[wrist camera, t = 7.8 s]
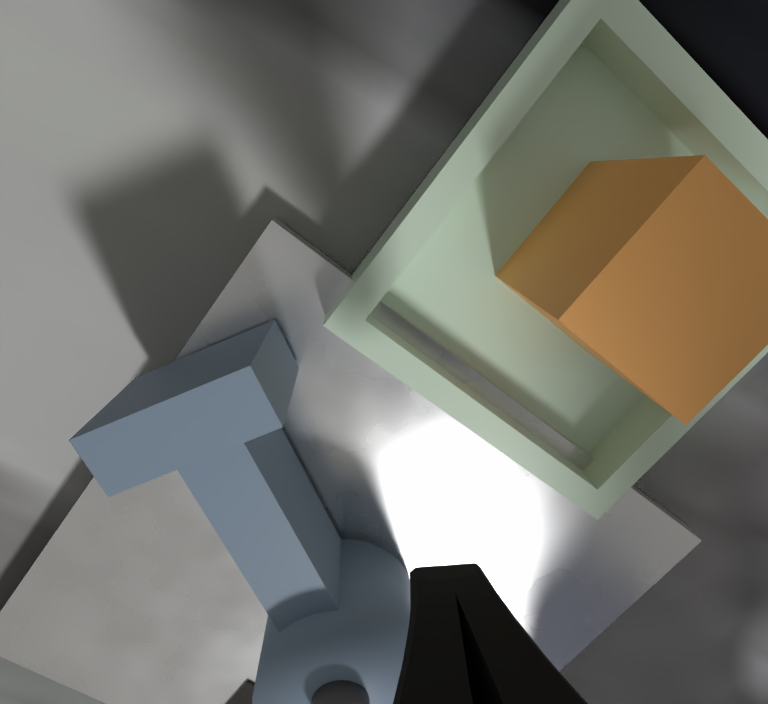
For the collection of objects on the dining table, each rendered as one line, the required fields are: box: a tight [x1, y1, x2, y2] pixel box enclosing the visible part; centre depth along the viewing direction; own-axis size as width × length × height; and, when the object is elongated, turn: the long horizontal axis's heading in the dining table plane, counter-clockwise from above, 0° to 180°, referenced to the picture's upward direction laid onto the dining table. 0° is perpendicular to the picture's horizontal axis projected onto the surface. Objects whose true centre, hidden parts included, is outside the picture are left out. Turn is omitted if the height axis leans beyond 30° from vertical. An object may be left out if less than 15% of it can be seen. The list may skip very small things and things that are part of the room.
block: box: [495, 155, 768, 425], centre depth 13 cm, size 4×4×5 cm
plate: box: [0, 218, 702, 704], centre depth 19 cm, size 18×18×1 cm
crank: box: [69, 320, 411, 704], centre depth 15 cm, size 12×5×4 cm, turn 22°
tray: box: [323, 0, 768, 520], centre depth 15 cm, size 11×11×2 cm
